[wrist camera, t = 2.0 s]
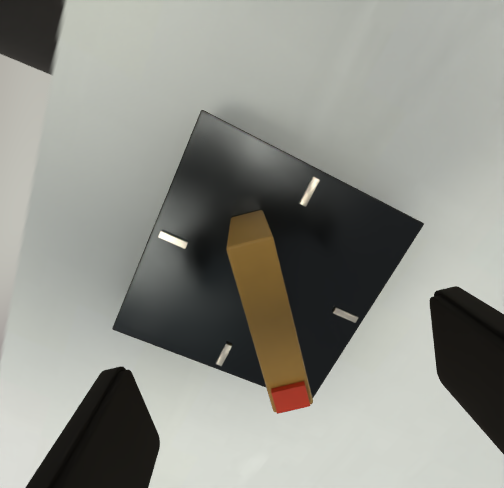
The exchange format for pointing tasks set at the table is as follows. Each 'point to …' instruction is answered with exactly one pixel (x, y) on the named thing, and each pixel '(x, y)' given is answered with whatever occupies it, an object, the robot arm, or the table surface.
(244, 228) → the dial pointer knob
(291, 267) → the dial pointer knob base
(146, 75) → the table surface
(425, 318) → the table surface
